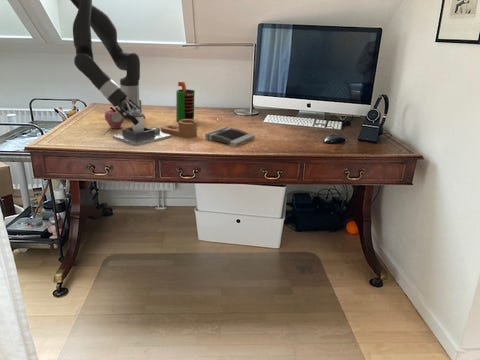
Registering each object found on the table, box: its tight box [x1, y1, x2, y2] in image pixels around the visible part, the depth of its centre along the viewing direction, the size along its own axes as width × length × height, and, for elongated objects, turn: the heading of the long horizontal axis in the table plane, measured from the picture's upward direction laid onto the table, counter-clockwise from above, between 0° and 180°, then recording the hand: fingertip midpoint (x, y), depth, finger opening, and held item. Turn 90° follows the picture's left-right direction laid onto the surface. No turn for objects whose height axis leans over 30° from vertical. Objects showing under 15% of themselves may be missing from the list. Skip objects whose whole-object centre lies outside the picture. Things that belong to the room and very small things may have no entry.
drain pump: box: [131, 110, 145, 133], centre depth 171 cm, size 5×5×12 cm
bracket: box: [160, 119, 198, 139], centre depth 181 cm, size 18×8×7 cm, turn 66°
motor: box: [175, 81, 195, 123], centre depth 202 cm, size 10×9×20 cm
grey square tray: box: [204, 125, 255, 147], centre depth 179 cm, size 17×5×16 cm
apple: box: [104, 106, 126, 129], centre depth 185 cm, size 10×9×10 cm
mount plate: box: [112, 126, 172, 147], centre depth 174 cm, size 20×16×4 cm
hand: (140, 121), depth 170 cm, fingers open, 8 cm apart
